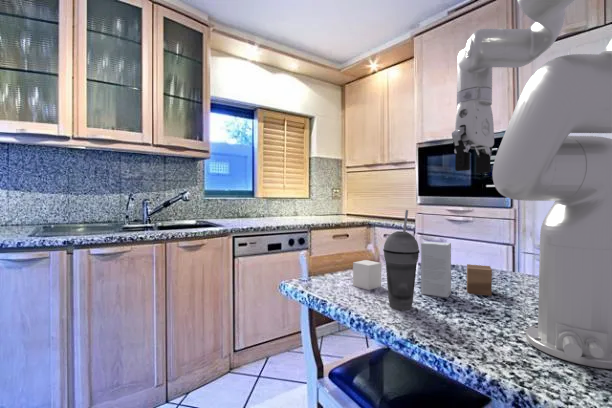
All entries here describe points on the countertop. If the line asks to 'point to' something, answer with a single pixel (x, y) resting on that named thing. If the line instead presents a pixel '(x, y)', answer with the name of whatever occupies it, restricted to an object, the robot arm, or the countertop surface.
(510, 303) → the countertop surface
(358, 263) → the off-white block
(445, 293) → the skincare box
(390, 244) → the beverage cup
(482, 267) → the walnut block
